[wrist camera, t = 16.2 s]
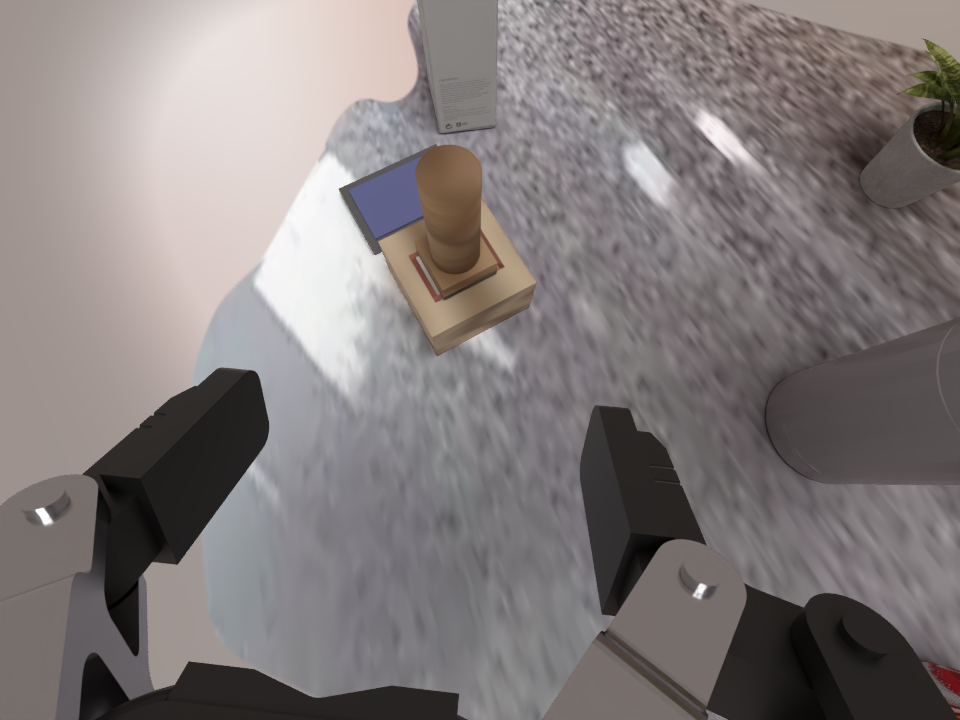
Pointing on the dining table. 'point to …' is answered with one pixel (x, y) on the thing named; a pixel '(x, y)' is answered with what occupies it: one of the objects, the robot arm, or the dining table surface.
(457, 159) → the stamp
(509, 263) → the parcel
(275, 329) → the dining table surface
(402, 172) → the ink pad
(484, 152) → the dining table surface
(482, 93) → the skincare box
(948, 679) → the soda can
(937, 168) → the house plant
